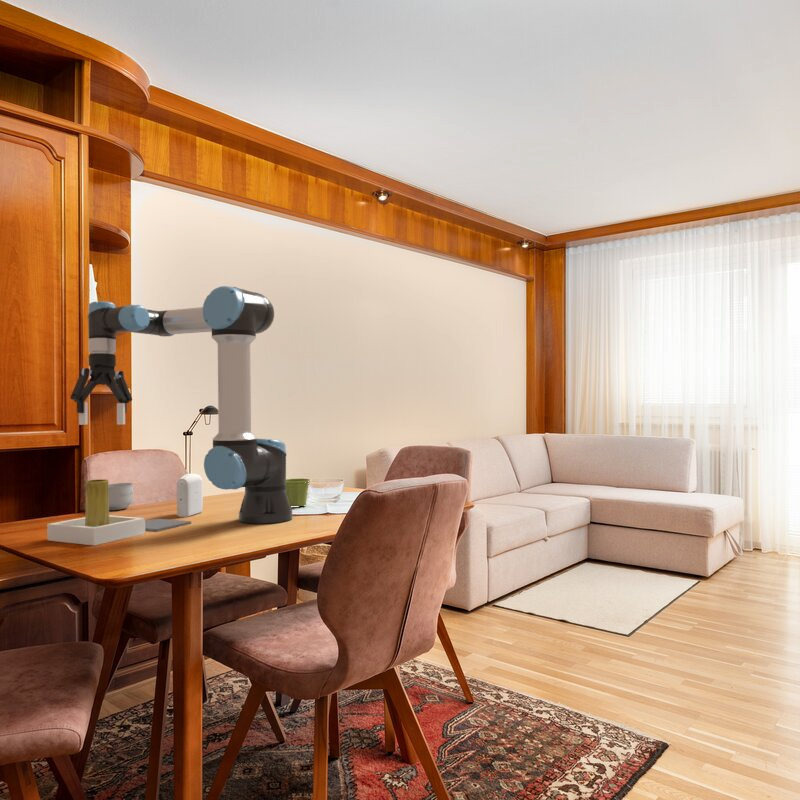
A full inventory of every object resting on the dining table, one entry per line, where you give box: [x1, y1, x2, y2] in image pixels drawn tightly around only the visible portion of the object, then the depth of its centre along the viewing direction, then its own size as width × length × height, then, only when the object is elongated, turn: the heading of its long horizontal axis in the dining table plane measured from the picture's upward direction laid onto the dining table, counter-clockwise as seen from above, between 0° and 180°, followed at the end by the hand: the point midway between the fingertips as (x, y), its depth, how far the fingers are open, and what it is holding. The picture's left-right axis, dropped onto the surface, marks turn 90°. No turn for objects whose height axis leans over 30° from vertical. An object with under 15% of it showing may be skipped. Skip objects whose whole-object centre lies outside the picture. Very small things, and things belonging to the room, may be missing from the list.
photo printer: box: [176, 473, 204, 518], centre depth 207 cm, size 10×4×12 cm, turn 168°
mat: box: [145, 518, 192, 532], centre depth 188 cm, size 13×13×1 cm
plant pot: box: [286, 478, 311, 507], centre depth 222 cm, size 9×9×9 cm
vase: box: [84, 478, 110, 527], centre depth 172 cm, size 6×6×14 cm
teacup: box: [108, 482, 134, 511], centre depth 221 cm, size 14×11×8 cm
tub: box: [46, 514, 146, 546], centre depth 172 cm, size 16×16×4 cm
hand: (102, 424), depth 204 cm, fingers open, 13 cm apart
